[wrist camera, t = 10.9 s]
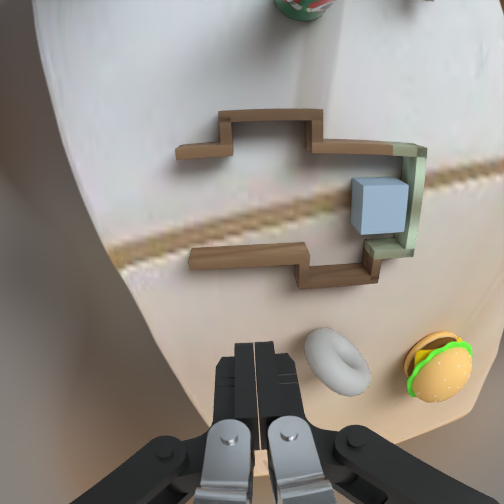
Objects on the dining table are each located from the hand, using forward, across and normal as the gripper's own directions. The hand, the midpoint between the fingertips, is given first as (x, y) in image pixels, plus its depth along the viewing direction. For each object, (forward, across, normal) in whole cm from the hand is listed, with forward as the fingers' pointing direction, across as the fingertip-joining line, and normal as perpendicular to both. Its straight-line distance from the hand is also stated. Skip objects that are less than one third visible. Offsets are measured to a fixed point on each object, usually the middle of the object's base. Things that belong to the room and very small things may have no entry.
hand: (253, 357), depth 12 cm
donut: (+22, -10, +19) cm, 31 cm away
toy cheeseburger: (+22, -28, +26) cm, 44 cm away
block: (+22, -14, +1) cm, 26 cm away
